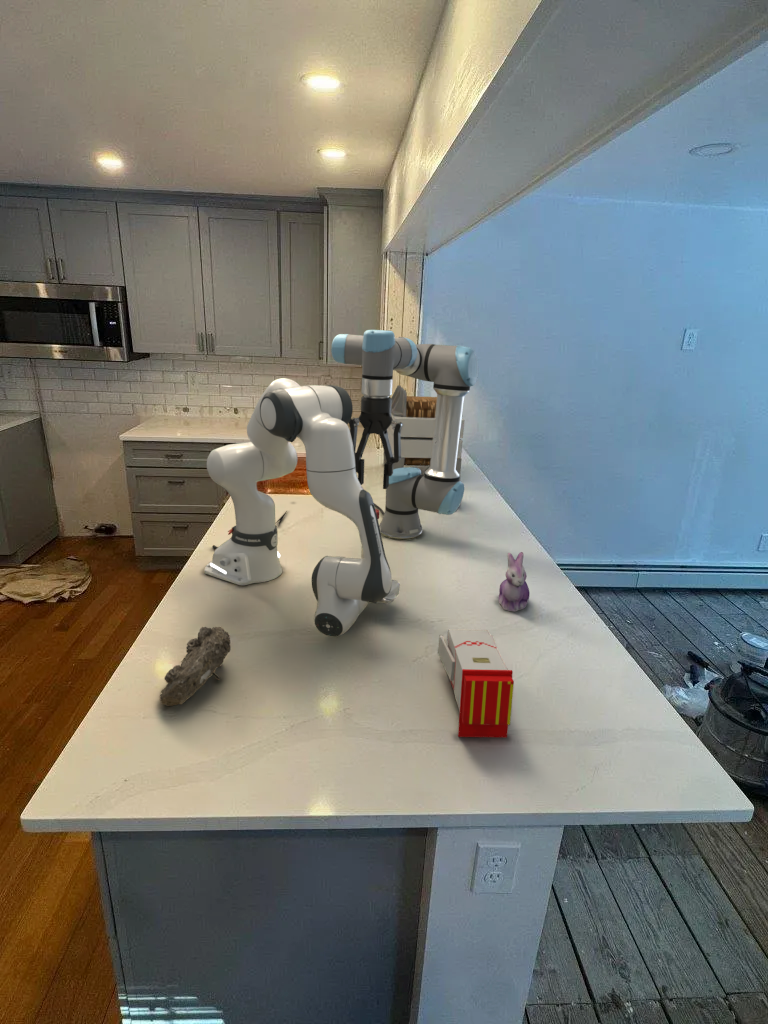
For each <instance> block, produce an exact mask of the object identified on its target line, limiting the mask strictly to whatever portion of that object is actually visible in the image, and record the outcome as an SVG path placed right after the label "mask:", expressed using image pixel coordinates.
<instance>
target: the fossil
mask: <svg viewBox="0 0 768 1024" xmlns="http://www.w3.org/2000/svg"><path fill="white" fill-rule="evenodd" d="M231 648H232V647H231V635H230V633H229V631H225V630H224V628H223V627H222V626H215V627H214V626H213V627H212V628H211V627H207V626H202V627H200V629H199V631H198V633H197V637H195V638H191V639H189V640H188V641H187V643H186V654H185V656H184V657H183V660H182V661H181V663H180V665H178V664H177V665H174V666H173V667H172V668H171V669H170V670H168V672H166V673H165V675H164V678H163V679H164V681H165V682H166V683H167V684H166V685H165V687H164V688H162V689H161V690H160V694H159V700H160V703H161V705H165V706H167V707H173V706H178V705H183V704H184V703H185V702H186V701H187V700H188V699H190V697H192V696H193V695H194V694H195V693H196V692H197V691H199V690H200V689H201V688H202V687H203V686H204V685H205V684H206V682H207V681H208V679H209V678H210V677H212V675H213V677H215V678H216V680H220V679H221V677H219V675H218V674H216V672H215V671H216V669H217V668H220V667H221V666H222V665H223V663H224V661H225V658H226V657H227V655H228V654H229V653H230V652H231Z"/></svg>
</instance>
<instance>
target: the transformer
mask: <svg viewBox="0 0 768 1024" xmlns="http://www.w3.org/2000/svg"><path fill="white" fill-rule="evenodd" d="M407 394H408V393H407V390H406V389H404V388H403V387H402V385H399V384H398V385H397V386H396V388H395V390H394V392H393V393H392V395H391V399H392V405H391V417H392V419H393V420H394V421H396V422H402V423H403V426H402V429H401V460H400V461H399V462H397V463H394V464H393V469H397V468H405V466H406V467H409V466H411V467H417V466H418V467H430V460H431V451H432V441H433V431H434V421H435V411H436V402H437V396H415V395H414V396H413V395H412V396H411V395H407ZM464 429H465V419H464V418H462V419H461V428H460V436H459V445H458V454H457V462H456V471H457V472H458V474H459V475H460V477H459V481H461V472H462V461H463V460H462V453H463V442H464V441H463V440H462V439H463V438H464V431H465V430H464ZM387 432H388V438H389V442H390V446H391V450H392V454H393V457H394V430H393V429H392V425H390V426H389V427H388V429H387ZM386 462H387V460H386V456H385V453H384V452H383V465H384V464H385V463H386Z"/></svg>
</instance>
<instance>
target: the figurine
mask: <svg viewBox="0 0 768 1024" xmlns="http://www.w3.org/2000/svg"><path fill="white" fill-rule="evenodd" d="M506 556H507V569H506V571H505V579H504V580H502V581H501V583H500V585H499V591H498V592H499V593H498V597H497V598H498V600H497V601H498V604H499V605H500V606H501V607H502V609H503V610H505V611H507V612H508V611H509V612H518V611H520V610H521V611H522V610H524V609H525V608H526V607H527V605H528V601H529V599H530V588H529V585H528V584H527V581H526V580H527V571H526V570H525V567H524V552H523V551H520V552H519V553H518V555H517V557H516V559H515V557H514V556H513V554H512V553H511V552H508V553H507V555H506Z"/></svg>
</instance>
